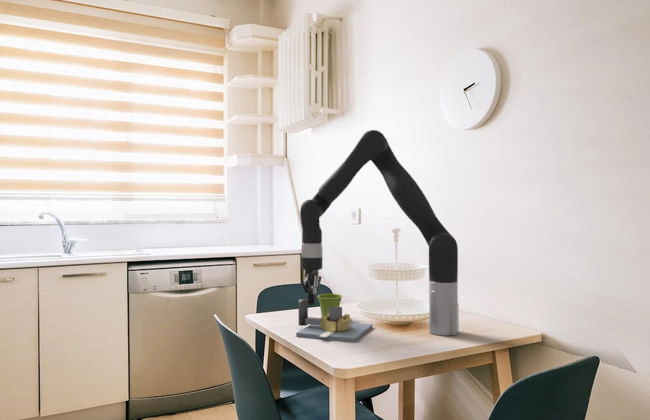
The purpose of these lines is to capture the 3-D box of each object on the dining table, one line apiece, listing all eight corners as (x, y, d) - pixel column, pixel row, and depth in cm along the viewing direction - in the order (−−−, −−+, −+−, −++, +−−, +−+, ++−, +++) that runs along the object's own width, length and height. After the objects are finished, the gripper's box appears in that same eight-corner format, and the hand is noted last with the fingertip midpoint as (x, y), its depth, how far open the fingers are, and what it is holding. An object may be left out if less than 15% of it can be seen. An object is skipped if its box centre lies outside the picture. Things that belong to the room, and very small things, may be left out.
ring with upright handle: (354, 325, 167) (354, 300, 167) (344, 332, 158) (344, 306, 158) (304, 321, 174) (304, 297, 174) (292, 327, 165) (292, 302, 165)
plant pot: (342, 321, 180) (342, 298, 180) (317, 321, 180) (316, 298, 180) (342, 316, 189) (342, 293, 189) (317, 316, 189) (317, 293, 189)
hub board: (372, 327, 170) (372, 304, 170) (352, 344, 149) (352, 317, 149) (319, 323, 177) (319, 300, 177) (293, 337, 157) (293, 312, 157)
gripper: (314, 257, 166) (314, 308, 166) (328, 254, 178) (328, 302, 178) (294, 257, 169) (294, 307, 169) (309, 253, 181) (309, 300, 181)
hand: (311, 304), depth 173 cm, fingers closed
